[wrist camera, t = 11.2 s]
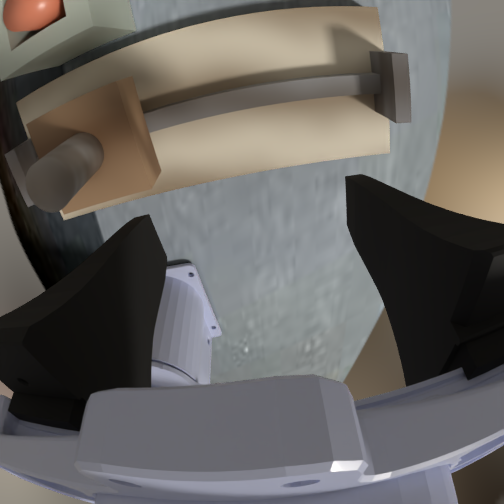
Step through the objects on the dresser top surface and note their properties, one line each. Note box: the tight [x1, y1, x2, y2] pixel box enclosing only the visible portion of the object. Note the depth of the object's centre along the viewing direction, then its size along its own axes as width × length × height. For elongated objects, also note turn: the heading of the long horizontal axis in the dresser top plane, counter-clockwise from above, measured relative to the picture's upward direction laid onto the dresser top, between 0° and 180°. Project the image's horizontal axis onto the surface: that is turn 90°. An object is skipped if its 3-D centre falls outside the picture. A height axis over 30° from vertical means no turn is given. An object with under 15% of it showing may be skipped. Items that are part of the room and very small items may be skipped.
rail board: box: [5, 6, 411, 220], centre depth 16 cm, size 10×24×4 cm, turn 100°
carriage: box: [26, 76, 161, 215], centre depth 13 cm, size 6×6×6 cm
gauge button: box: [3, 0, 66, 32], centre depth 8 cm, size 3×3×3 cm
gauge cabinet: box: [0, 0, 136, 81], centre depth 10 cm, size 6×6×6 cm
